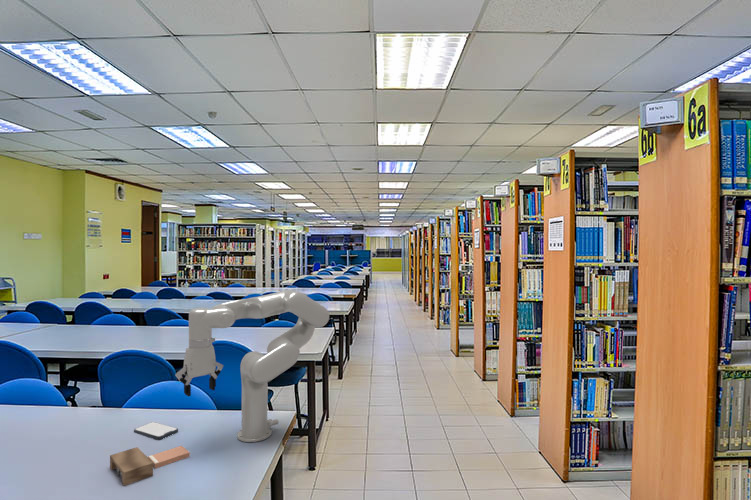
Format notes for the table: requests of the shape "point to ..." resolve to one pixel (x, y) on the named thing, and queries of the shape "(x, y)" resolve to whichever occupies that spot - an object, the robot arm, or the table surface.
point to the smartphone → (155, 430)
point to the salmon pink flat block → (169, 456)
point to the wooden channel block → (131, 465)
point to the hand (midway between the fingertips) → (200, 392)
